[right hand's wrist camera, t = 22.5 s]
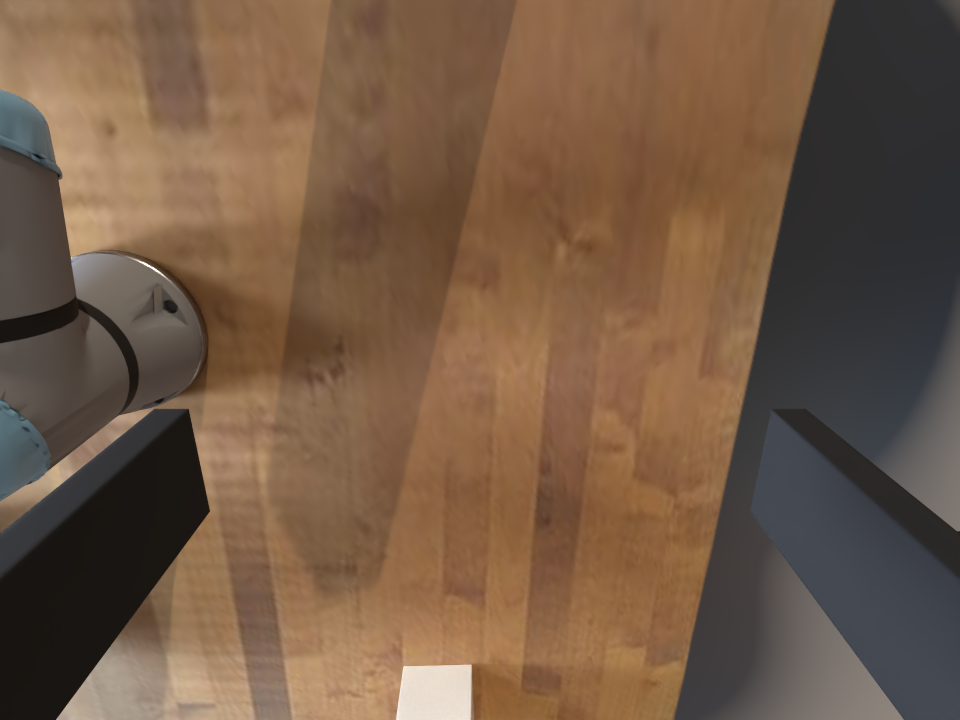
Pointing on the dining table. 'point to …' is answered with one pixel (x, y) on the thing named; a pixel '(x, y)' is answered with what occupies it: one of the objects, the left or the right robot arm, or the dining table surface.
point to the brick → (436, 693)
